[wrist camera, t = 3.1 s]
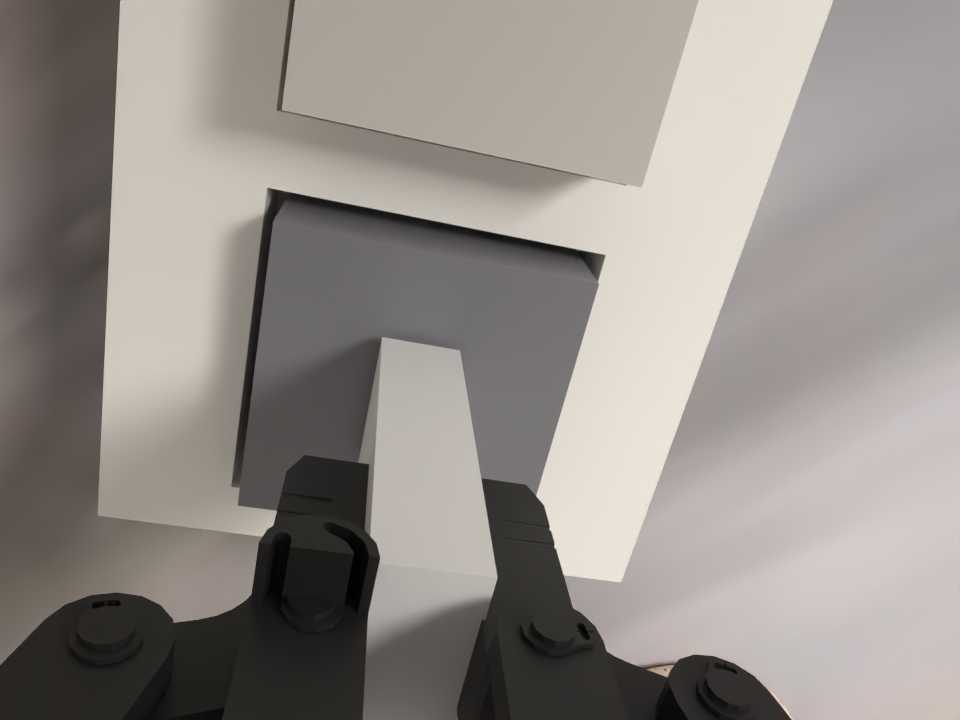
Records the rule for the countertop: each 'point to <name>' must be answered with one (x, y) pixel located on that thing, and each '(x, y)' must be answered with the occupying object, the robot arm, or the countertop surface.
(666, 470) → the countertop surface
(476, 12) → the grey key
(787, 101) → the keypad
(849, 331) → the countertop surface
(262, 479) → the charcoal key
